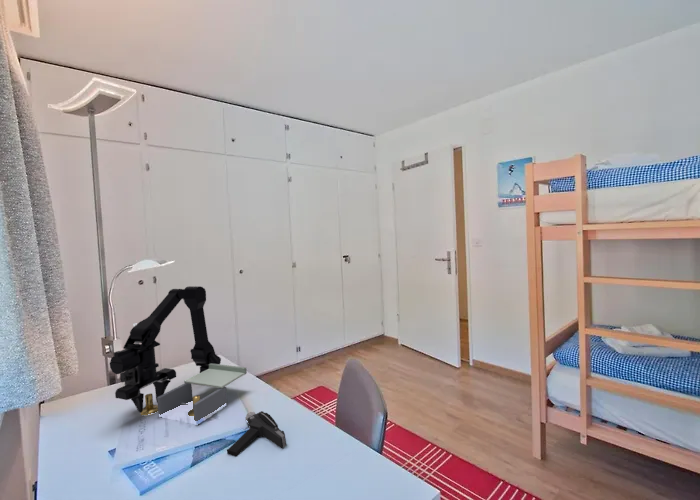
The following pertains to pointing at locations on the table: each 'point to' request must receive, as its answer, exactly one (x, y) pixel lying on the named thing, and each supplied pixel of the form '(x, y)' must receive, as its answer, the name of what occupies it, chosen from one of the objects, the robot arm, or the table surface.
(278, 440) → the toy gun
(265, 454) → the table surface
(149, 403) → the brass door knob
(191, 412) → the brass knob
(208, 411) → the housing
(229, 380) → the lid
